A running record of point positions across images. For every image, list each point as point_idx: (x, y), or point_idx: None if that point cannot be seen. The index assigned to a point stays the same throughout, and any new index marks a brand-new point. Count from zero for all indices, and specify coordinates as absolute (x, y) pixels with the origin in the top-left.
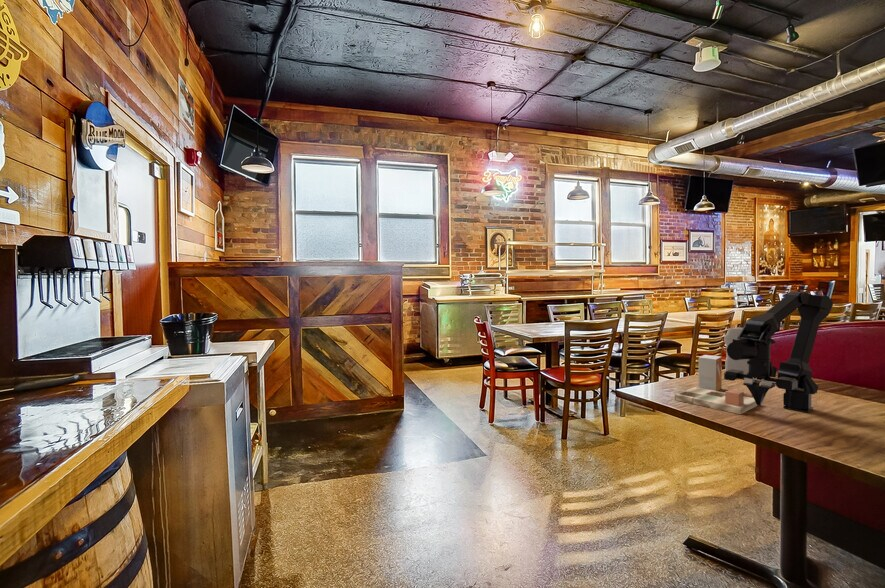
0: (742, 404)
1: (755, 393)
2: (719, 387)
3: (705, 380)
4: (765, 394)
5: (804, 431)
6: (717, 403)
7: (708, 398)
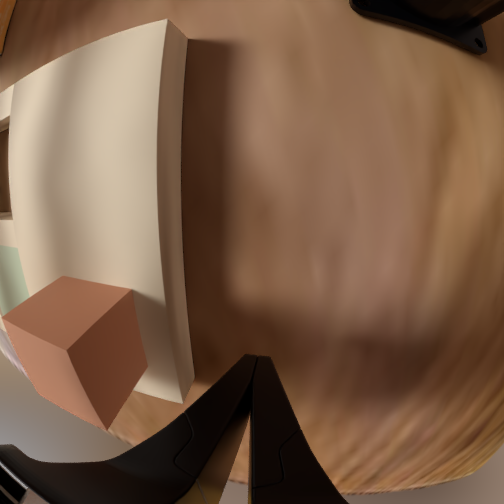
0: (140, 319)
1: (222, 490)
2: (5, 8)
3: None
4: (305, 446)
5: (454, 409)
6: None
7: (15, 297)
